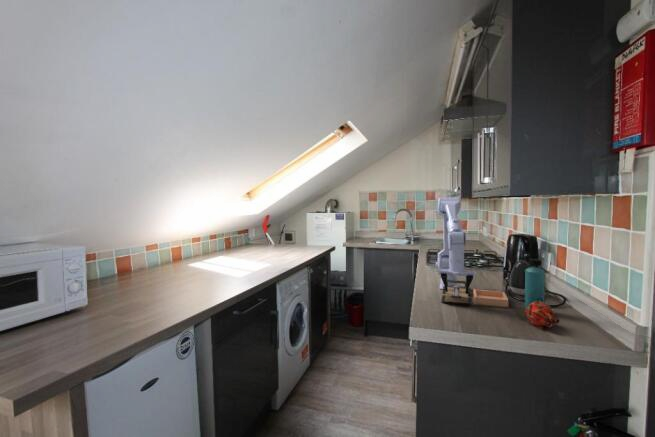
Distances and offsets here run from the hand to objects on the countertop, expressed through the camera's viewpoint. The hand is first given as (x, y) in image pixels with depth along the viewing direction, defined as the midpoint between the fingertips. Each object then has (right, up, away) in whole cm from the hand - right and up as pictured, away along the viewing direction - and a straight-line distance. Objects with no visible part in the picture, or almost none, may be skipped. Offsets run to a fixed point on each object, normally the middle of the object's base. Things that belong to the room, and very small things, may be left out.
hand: (456, 292), depth 130 cm
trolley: (+2, -4, +6) cm, 7 cm away
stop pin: (0, -4, 0) cm, 4 cm away
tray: (+14, -4, +1) cm, 15 cm away
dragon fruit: (+19, -6, -24) cm, 31 cm away
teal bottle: (+25, -5, -11) cm, 28 cm away
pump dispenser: (+34, -3, +10) cm, 36 cm away
